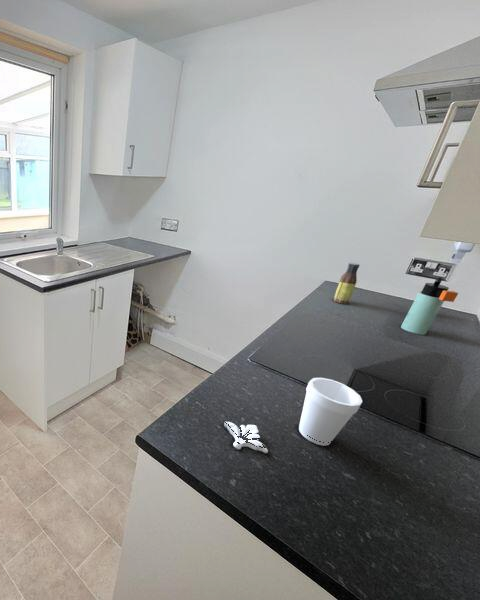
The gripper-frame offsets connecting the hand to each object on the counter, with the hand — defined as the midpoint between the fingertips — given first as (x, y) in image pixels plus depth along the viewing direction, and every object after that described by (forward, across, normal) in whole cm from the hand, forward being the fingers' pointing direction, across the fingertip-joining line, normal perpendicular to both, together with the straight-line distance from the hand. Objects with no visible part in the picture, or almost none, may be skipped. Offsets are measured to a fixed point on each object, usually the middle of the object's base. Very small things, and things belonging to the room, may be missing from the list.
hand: (454, 260), depth 115 cm
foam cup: (+31, -99, +14) cm, 104 cm away
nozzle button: (+15, -1, -3) cm, 15 cm away
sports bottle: (+31, +4, +1) cm, 31 cm away
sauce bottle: (+31, +17, +28) cm, 45 cm away
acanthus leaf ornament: (+31, -113, +24) cm, 120 cm away
